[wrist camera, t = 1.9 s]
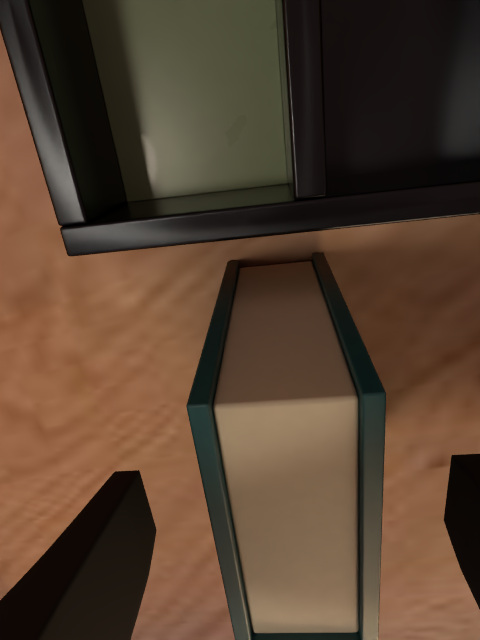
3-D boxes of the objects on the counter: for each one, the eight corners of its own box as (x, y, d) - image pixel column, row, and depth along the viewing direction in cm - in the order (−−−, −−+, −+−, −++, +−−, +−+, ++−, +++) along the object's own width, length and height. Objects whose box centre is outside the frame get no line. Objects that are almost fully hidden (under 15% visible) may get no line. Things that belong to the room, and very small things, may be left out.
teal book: (329, 423, 18) (378, 653, 10) (249, 428, 18) (237, 653, 10) (323, 251, 15) (387, 392, 7) (227, 261, 15) (185, 405, 7)
